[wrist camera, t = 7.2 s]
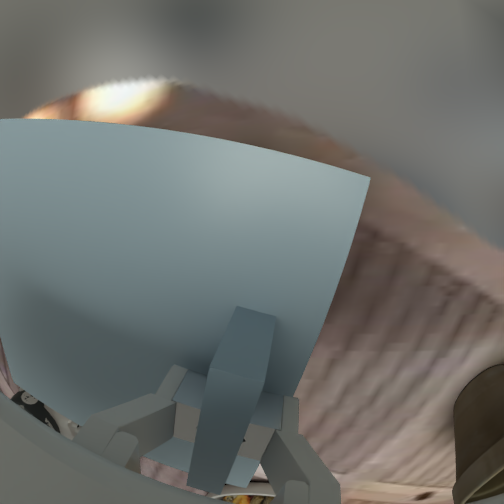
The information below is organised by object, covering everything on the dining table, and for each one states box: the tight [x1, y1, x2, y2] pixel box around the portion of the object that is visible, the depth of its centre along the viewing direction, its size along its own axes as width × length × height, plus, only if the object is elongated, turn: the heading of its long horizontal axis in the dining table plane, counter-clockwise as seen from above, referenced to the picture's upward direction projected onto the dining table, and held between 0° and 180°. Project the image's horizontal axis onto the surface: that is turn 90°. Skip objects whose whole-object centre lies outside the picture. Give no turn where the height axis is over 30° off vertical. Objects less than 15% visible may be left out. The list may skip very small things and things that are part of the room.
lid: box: [0, 119, 371, 495], centre depth 10 cm, size 15×15×5 cm
